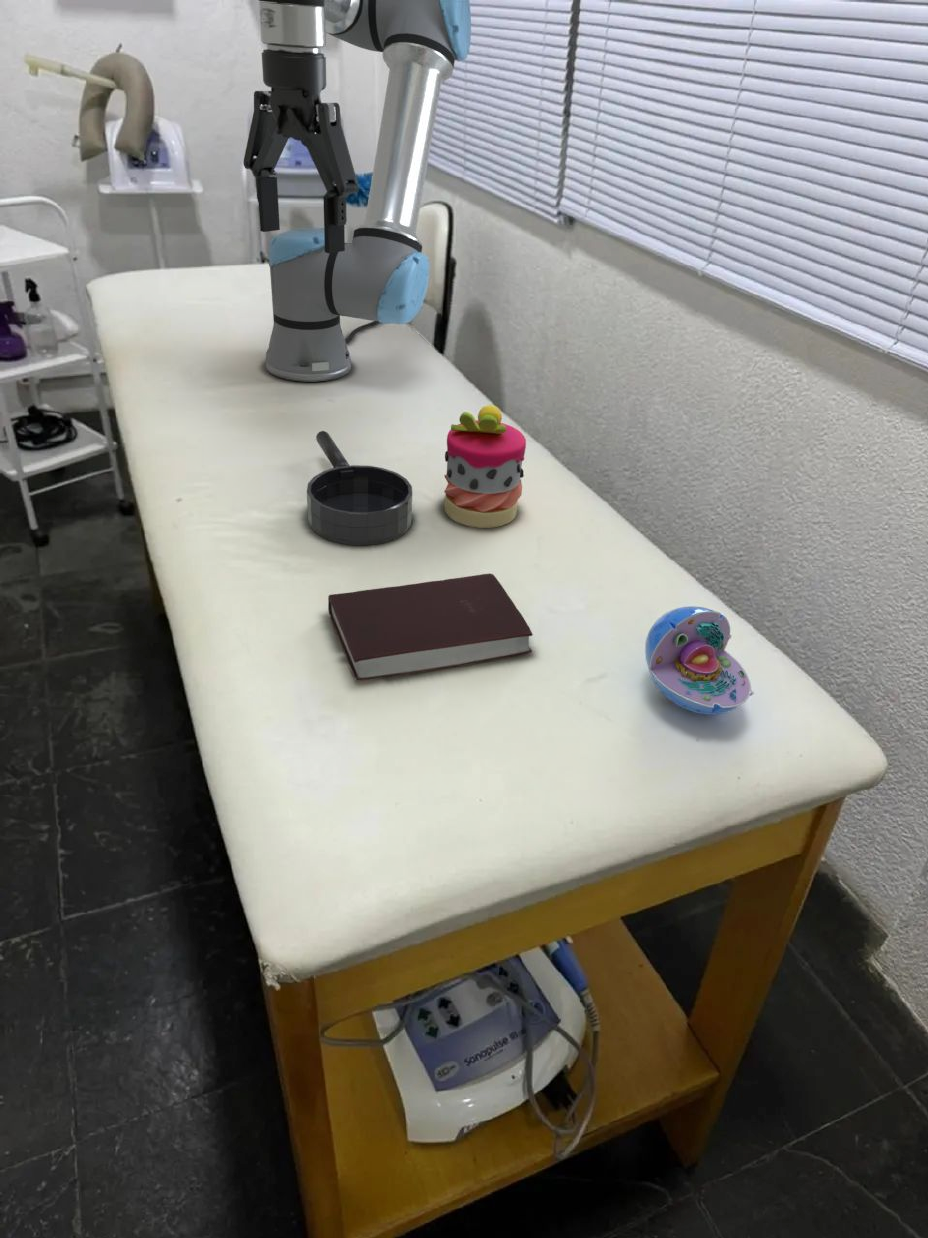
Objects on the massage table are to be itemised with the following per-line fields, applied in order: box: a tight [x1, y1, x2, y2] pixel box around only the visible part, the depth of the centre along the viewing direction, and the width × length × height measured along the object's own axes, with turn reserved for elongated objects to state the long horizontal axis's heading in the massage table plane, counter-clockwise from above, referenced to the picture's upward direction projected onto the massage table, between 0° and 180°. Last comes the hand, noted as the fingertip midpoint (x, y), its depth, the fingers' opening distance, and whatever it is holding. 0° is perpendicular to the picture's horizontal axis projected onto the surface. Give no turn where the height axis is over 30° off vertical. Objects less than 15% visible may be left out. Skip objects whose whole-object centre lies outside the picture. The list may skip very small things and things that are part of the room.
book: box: [327, 573, 534, 682], centre depth 91 cm, size 12×19×3 cm, turn 109°
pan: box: [306, 464, 413, 546], centre depth 110 cm, size 13×13×4 cm
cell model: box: [644, 605, 755, 716], centre depth 84 cm, size 10×12×10 cm
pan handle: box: [315, 430, 354, 479], centre depth 119 cm, size 13×2×2 cm, turn 23°
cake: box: [443, 404, 527, 529], centre depth 112 cm, size 10×10×15 cm
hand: (301, 240), depth 113 cm, fingers open, 13 cm apart
